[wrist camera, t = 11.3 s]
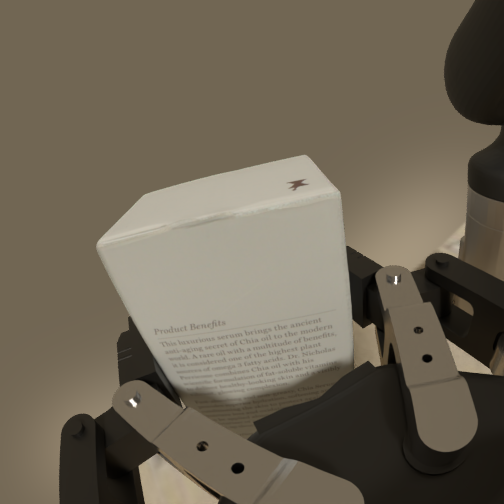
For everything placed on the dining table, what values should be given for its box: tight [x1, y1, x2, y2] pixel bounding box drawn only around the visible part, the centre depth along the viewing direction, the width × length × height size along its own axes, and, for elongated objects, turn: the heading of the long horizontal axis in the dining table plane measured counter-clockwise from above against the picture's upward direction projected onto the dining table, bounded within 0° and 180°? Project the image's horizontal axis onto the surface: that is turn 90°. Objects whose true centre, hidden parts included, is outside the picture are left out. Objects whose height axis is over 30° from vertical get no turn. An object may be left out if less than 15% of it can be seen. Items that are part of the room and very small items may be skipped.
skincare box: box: [96, 155, 354, 440], centre depth 11 cm, size 6×4×12 cm
